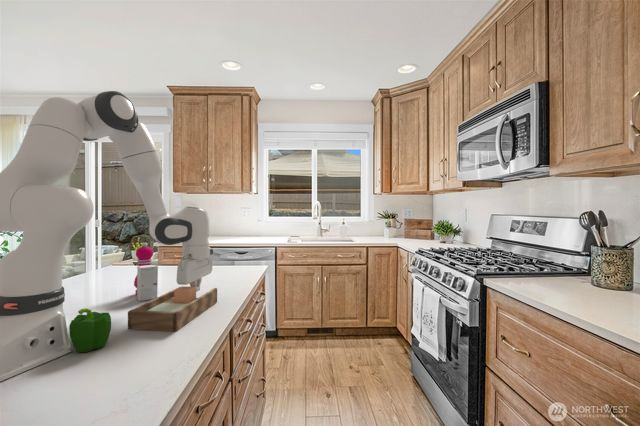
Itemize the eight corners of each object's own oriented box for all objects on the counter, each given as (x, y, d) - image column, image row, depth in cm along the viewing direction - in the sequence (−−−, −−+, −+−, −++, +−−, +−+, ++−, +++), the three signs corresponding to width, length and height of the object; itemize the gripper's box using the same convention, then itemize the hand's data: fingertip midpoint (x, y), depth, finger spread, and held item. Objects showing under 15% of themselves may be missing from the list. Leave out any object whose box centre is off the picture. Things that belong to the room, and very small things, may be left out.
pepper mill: (159, 291, 130) (158, 241, 129) (147, 296, 123) (147, 243, 122) (141, 291, 131) (141, 241, 130) (129, 296, 123) (129, 243, 123)
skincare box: (140, 301, 116) (139, 267, 116) (136, 299, 120) (136, 266, 119) (158, 298, 121) (158, 265, 120) (154, 295, 124) (154, 264, 124)
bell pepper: (104, 338, 84) (104, 299, 84) (116, 347, 79) (116, 306, 79) (64, 348, 78) (63, 307, 78) (74, 359, 72) (74, 314, 72)
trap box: (176, 331, 89) (176, 313, 89) (127, 329, 90) (127, 311, 90) (217, 301, 117) (217, 288, 117) (179, 300, 118) (179, 286, 118)
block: (188, 302, 105) (188, 290, 105) (174, 302, 106) (174, 290, 106) (196, 298, 110) (196, 286, 110) (181, 298, 111) (181, 286, 111)
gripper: (190, 257, 104) (190, 300, 105) (215, 249, 125) (215, 285, 125) (171, 256, 105) (171, 299, 105) (199, 248, 125) (199, 284, 126)
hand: (195, 291), depth 115 cm, fingers closed
